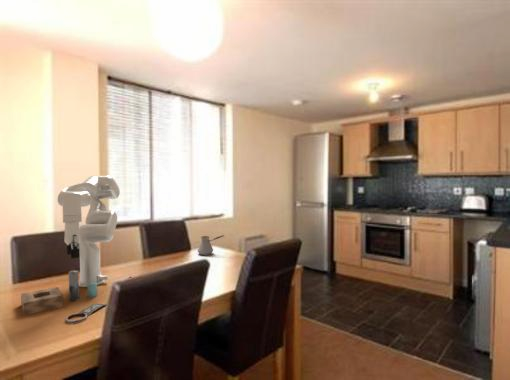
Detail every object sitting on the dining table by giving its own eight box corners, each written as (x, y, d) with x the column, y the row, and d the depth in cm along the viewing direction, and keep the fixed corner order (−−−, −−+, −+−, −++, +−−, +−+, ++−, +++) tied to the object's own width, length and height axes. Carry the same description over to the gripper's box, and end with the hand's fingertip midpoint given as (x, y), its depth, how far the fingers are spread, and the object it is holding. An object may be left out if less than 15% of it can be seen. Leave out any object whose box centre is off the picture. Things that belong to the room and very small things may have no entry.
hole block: (58, 297, 153) (57, 287, 153) (63, 306, 142) (62, 295, 142) (21, 304, 144) (21, 293, 144) (23, 315, 133) (23, 303, 133)
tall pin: (80, 297, 153) (79, 270, 153) (77, 300, 149) (76, 272, 149) (71, 298, 153) (70, 270, 152) (67, 301, 149) (67, 272, 148)
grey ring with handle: (110, 306, 144) (110, 302, 143) (77, 325, 125) (77, 320, 125) (94, 305, 145) (94, 300, 145) (60, 323, 126) (60, 318, 126)
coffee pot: (194, 255, 237) (194, 234, 237) (202, 251, 248) (202, 232, 247) (221, 257, 230) (221, 236, 229) (227, 254, 241) (227, 233, 240)
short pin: (98, 294, 157) (98, 282, 157) (95, 297, 153) (95, 284, 153) (89, 294, 157) (89, 282, 157) (86, 297, 153) (86, 285, 153)
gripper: (59, 217, 154) (60, 253, 155) (66, 221, 141) (66, 260, 141) (77, 216, 159) (78, 251, 159) (85, 220, 145) (86, 258, 146)
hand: (73, 255), depth 150 cm, fingers open, 9 cm apart
